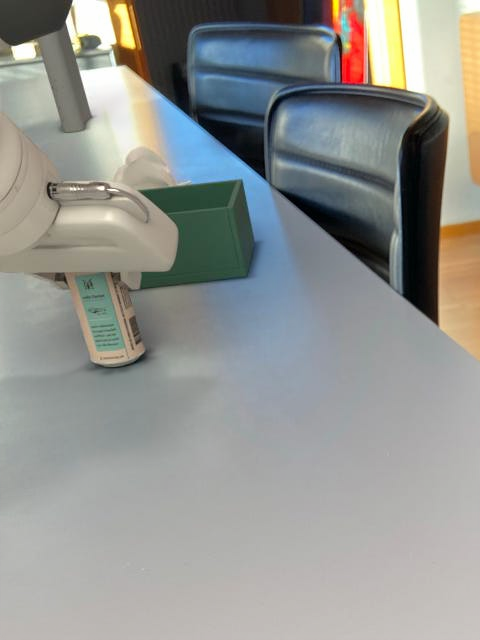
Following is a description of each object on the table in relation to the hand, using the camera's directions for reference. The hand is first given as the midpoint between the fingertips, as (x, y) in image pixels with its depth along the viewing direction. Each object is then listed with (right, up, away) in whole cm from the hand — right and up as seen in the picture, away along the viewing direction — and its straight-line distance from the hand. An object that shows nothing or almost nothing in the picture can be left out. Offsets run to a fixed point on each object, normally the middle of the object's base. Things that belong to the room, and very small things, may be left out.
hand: (100, 281), depth 87 cm
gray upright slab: (-46, +70, +112) cm, 140 cm away
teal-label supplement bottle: (0, -6, +4) cm, 7 cm away
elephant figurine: (-9, +21, +40) cm, 46 cm away
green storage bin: (0, +11, +26) cm, 28 cm away
